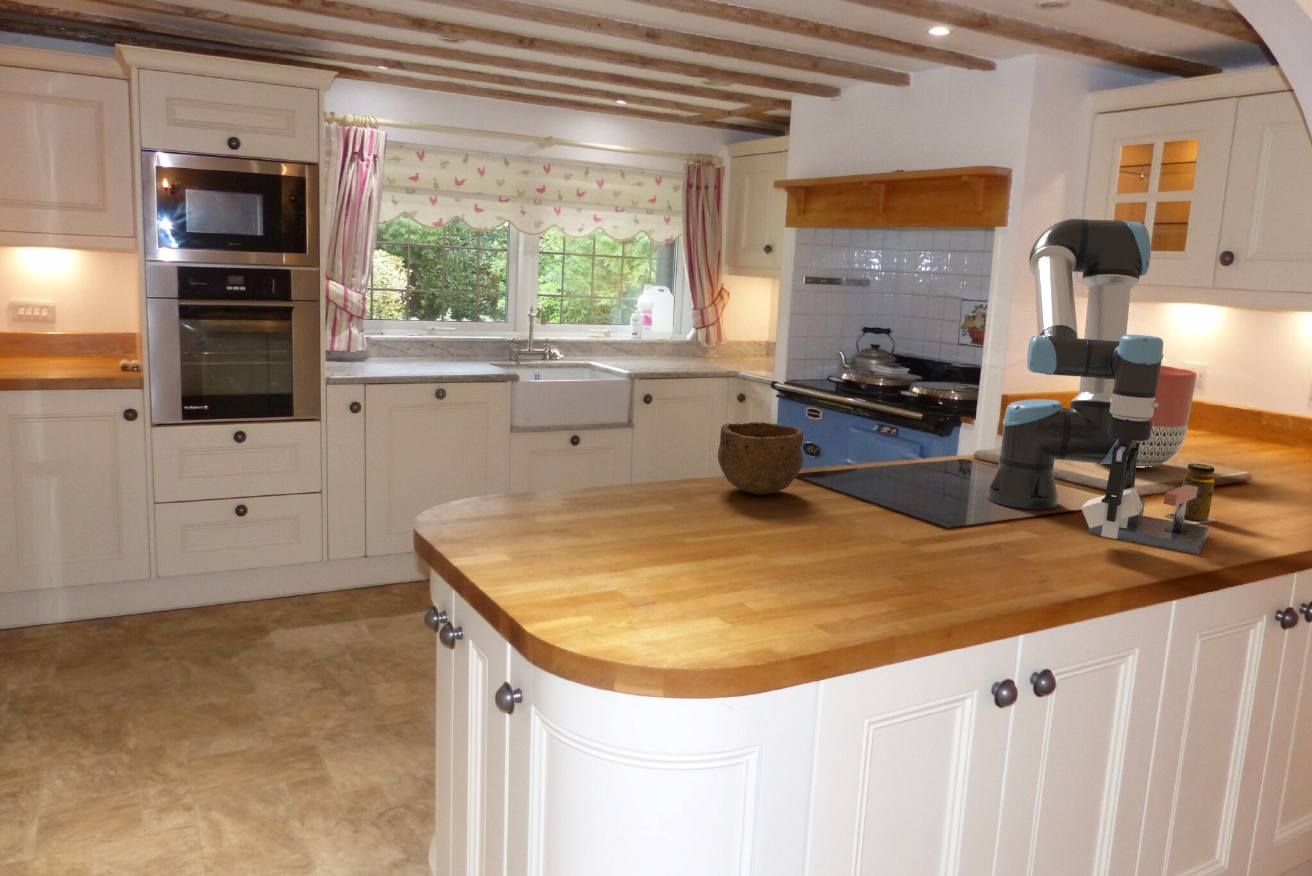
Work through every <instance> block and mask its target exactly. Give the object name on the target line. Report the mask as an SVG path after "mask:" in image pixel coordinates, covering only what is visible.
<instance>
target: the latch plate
mask: <svg viewBox="0 0 1312 876" xmlns="http://www.w3.org/2000/svg"><path fill="white" fill-rule="evenodd" d="M1139 498H1140V500H1141V502H1142V505H1143V508H1142V509H1141V511H1140V513H1139V514H1138V515H1135V516H1131V517H1128V524H1127V528H1122V527H1119V529H1118V536H1117V539H1116V540H1121V541H1127V542H1131V543H1135V542H1136V543H1137V544H1140V545H1145V544H1146V545H1147V546H1151V547H1157V548H1163V549H1165V550H1166V549H1167V550H1170V551H1176V550H1178V551H1177V552H1182V551H1184V552H1183V553H1188V554H1192V553H1193V555H1197V556H1198V555H1199V554H1200V551H1202V548H1203V546H1204V544H1205V542H1206V540H1207V539H1208V537H1209V532H1210V527H1207V526H1201V525H1198V524H1193V523H1188V522H1183V528H1182V531H1175V530H1172V527H1173V520H1169V519H1163V518H1158V517H1151V516H1146V515H1144V509H1145V504H1146V497H1143V496H1142V497H1141V496H1139ZM1102 527H1103V525H1100V526H1096V527H1093V528H1089V527H1088V529H1089V530H1088V534H1090V535H1094V536H1100V537H1102V536H1101V534H1102Z"/></svg>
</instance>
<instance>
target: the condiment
mask: <svg viewBox="0 0 1312 876" xmlns="http://www.w3.org/2000/svg"><path fill="white" fill-rule="evenodd" d="M1186 469H1187V470H1186V472H1185V473H1186V474H1185V475H1184V477H1183V481H1182V486H1184V485H1190V486H1196V487H1198V489H1197V496H1196V498H1194V499H1191V500H1189V501H1187V503H1186V509H1185V515H1184V523H1187V524H1192V525H1198V524H1200V525H1201V524H1203V523H1204V524H1205V523H1210V522H1216V519H1215V518H1210V517H1209V516H1210V511H1211V506H1212V499H1213V492H1214V488H1215V479H1214V477H1215V467H1214V466H1212V465H1208V464H1204V463H1196V462H1195V463H1189V464H1187V468H1186ZM1182 486H1181V487H1182ZM1174 514H1175V512H1174V513H1173V512H1172V513H1169V514H1167V513H1166V514H1164V516H1166V517H1167V518H1170V519H1174Z"/></svg>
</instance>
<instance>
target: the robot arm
mask: <svg viewBox="0 0 1312 876" xmlns="http://www.w3.org/2000/svg"><path fill="white" fill-rule="evenodd" d="M1151 249H1152V248H1151V238H1150V233H1149V230H1148V229H1147V227H1146V226H1145V224H1143V223H1142V222H1138V221H1127V220H1124V219H1122V220H1119V219H1118V220H1114V219H1113V220H1111V219H1110V220H1108V219H1106V220H1105V219H1086V218H1085V219H1083V218H1069V219H1064V220H1061V221H1059V222H1056V223H1054V224H1053V225H1052V226H1050V227H1048V228H1047V229H1045V231H1043V232H1042V233H1041V234H1040V235H1039V237H1038V238H1037V239H1036V240H1035V242H1034V243H1033V246H1032V248H1031V249H1030V253H1029V260H1028V262H1029V263H1028V264H1029V265H1028V266H1029V271H1030V273H1031V275H1032V276H1033V277H1034V284H1035V287H1034V288H1035V304H1036V305H1035V306H1036V309H1035V310H1036V324H1037V325H1036V327H1037V328H1036V329H1037V335H1033V336H1031V338H1030V340H1029V342H1028V348H1027V355H1026V357H1027V360H1026V366H1027V369H1028V370H1029V372H1032V373H1035V374H1044V375H1047V376H1066V377H1070V376H1071V377H1080V380H1079V390H1078V393H1077V395H1076V396H1075V397H1073V398H1072V399H1071V400H1070V405H1069V406H1070V407H1069V408H1067V407H1063V405H1062V402H1061V401H1059V400H1056V399H1055V400H1054V399H1044V398H1042V399H1039V398H1037V399H1025V400H1024V399H1022V400H1018V401H1013V402H1011V403H1010V404H1008V405H1007V407H1006V409H1005V413H1004V419H1003V421H1002V425H1003V428H1002V435H1001V445H1000V452H999V459H998V461H999V462H998V466H997V468H996V470H995V472H994V474H993V477H992V478H991V480H990V483H989V485H988V487H987V493H986V498H987V499H988V500H989V501H991V502H994V503H995V504H999V505H1002V506H1006V507H1009V508H1010V507H1011V508H1017V509H1023V510H1034V511H1036V510H1038V511H1039V510H1040V511H1041V510H1051V509H1055V508H1057V506H1058V499H1059V496H1058V495H1059V494H1058V489H1057V486H1056V480H1055V476H1054V466H1055V460H1060V461H1069V462H1081V463H1091V464H1097V465H1101V464H1103V465H1104V464H1105V465H1110V468H1109V475H1108V480H1107V483H1106V484H1107V485H1106V490H1105V493H1104V495H1105V497H1104V499H1103V498H1102V503H1106V506H1105V513H1104V520H1103V527H1102V534H1101V536H1100V537H1104V538H1110V539H1114V540H1115V539H1116V540H1118V539H1117V536H1118V529H1119V527H1122V528H1127V524H1128V518H1124V519H1121V520H1120V516H1121V509H1122V505H1121V502H1122V501H1121V500H1122V496H1123V491H1124V489H1128V488H1131V487H1134V486H1135V487H1136V485H1135V484H1136V483H1135V482H1136V476H1137V475H1136V474H1137V469H1136V466H1137V457H1138V453H1139V446H1140V444H1139V442H1136V441H1146V440H1149V439H1150V435H1151V428H1152V422H1151V420H1149V418H1152V417H1153V412H1154V408H1157V407H1158V403H1156V402H1154V400H1155V398H1156V393H1157V387H1158V380H1159V374H1160V367H1161V366H1162V361H1163V358H1164V353H1163V352H1164V340H1163V339H1162V337H1159V336H1152V335H1143V334H1128V323H1129V313H1130V312H1129V311H1130V304H1131V303H1130V302H1131V300H1130V299H1131V292H1132V289H1133V288H1134V287H1135V286H1137V285H1138V284H1139V283H1140V277H1143V276H1145V275H1147V273H1148V271H1149V269H1150V261H1151V255H1152V254H1151V253H1152V250H1151ZM1073 272H1074V273H1075V272H1076V273H1082V277H1081V278H1082V281H1081V282H1083V284H1085V285H1086V287H1087V289H1088V295H1087V303H1086V304H1087V306H1086V314H1085V315H1086V316H1085V327H1084V335H1083V337H1084V338H1079V337H1078V336H1079V335H1078V325H1077V315H1076V313H1077V312H1076V304H1075V303H1076V302H1075V291H1074V290H1075V289H1074V280H1073ZM1112 495H1113V496H1116V497H1113V496H1112Z"/></svg>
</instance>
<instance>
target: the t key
mask: <svg viewBox="0 0 1312 876" xmlns="http://www.w3.org/2000/svg"><path fill="white" fill-rule="evenodd" d="M1197 489H1198V487H1196V486H1190V485H1184V486H1179V487H1177V488H1174V489H1172V490H1169V491H1167V492H1165V493H1164V498H1163V504H1164V505H1168V506H1173V507H1175V509H1174V513H1175V514H1174V513H1173V514H1174V518H1173V520H1172V521H1173V527H1172V530H1175V531H1182V528H1183V523H1185V521H1184V515H1185V509H1186V503H1187V501H1189V500H1191V499H1194V498H1196V496H1197Z"/></svg>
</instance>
